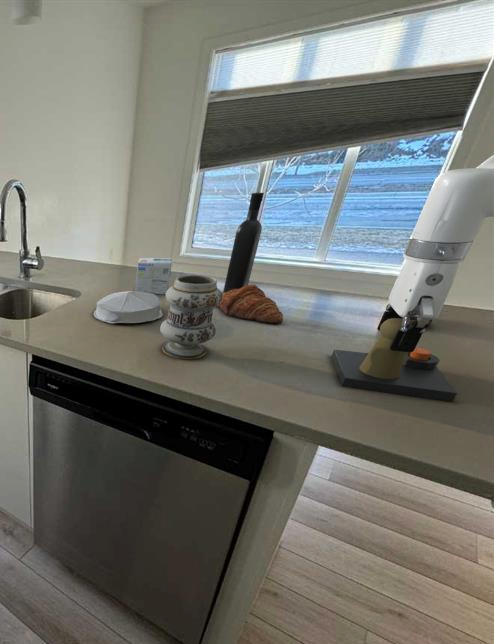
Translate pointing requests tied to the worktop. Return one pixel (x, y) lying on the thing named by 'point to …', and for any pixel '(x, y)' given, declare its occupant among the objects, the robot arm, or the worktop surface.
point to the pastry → (250, 305)
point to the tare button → (420, 354)
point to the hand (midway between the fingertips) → (393, 340)
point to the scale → (412, 380)
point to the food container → (128, 307)
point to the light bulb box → (153, 275)
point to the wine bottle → (245, 247)
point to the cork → (385, 353)
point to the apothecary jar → (190, 315)
